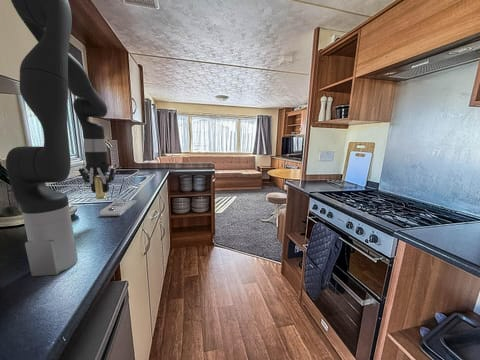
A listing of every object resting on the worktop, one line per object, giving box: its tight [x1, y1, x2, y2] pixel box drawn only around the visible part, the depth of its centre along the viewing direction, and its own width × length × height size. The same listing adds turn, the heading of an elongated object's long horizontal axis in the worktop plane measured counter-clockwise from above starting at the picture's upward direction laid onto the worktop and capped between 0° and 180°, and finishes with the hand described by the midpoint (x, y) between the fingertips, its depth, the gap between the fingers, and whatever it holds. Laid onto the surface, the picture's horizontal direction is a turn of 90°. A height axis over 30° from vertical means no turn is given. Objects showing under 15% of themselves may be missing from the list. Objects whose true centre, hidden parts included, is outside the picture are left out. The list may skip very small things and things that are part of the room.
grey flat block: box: [99, 199, 137, 217], centre depth 104 cm, size 20×8×3 cm, turn 7°
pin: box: [94, 176, 107, 200], centre depth 86 cm, size 4×4×9 cm
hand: (100, 192), depth 87 cm, fingers closed on pin, 3 cm apart
